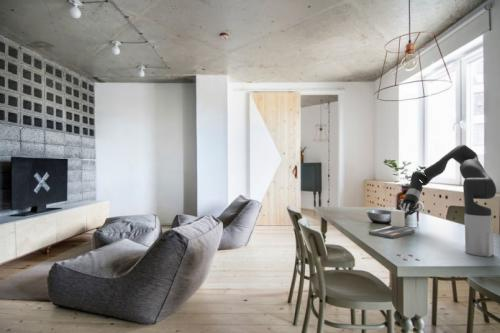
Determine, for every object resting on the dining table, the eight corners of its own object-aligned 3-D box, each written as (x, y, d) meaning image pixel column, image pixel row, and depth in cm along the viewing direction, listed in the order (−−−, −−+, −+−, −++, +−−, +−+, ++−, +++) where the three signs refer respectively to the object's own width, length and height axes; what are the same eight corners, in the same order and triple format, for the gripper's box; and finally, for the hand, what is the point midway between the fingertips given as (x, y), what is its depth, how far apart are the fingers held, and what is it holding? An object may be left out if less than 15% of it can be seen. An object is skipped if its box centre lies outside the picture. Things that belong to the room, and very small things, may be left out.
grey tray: (414, 232, 166) (414, 228, 166) (392, 238, 152) (392, 233, 152) (390, 228, 178) (390, 224, 178) (368, 233, 164) (368, 229, 164)
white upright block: (405, 229, 168) (405, 210, 168) (401, 230, 165) (400, 211, 165) (395, 227, 173) (394, 209, 173) (390, 228, 170) (390, 210, 170)
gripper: (425, 202, 175) (416, 224, 168) (403, 200, 186) (394, 221, 179) (421, 194, 172) (411, 216, 165) (399, 192, 183) (389, 213, 176)
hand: (402, 218), depth 172 cm, fingers closed
